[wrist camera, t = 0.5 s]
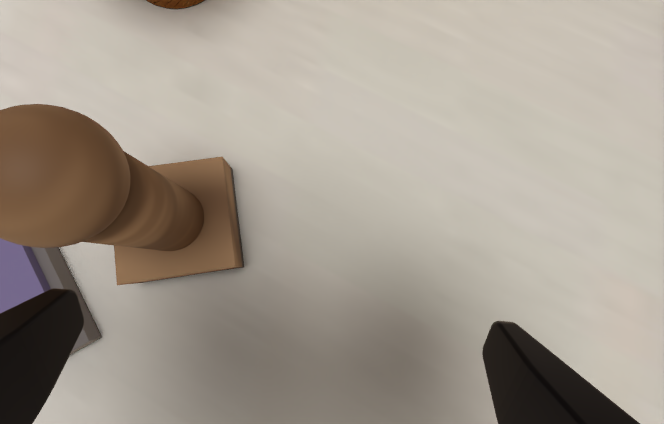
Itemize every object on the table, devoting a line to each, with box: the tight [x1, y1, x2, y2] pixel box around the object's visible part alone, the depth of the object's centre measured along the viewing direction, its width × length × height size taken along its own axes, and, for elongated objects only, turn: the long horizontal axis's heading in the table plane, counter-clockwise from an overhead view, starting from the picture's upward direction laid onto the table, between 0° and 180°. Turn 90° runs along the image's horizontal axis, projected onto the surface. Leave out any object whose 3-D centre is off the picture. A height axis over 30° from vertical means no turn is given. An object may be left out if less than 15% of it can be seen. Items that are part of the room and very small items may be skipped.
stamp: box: [0, 104, 244, 285], centre depth 16 cm, size 6×6×14 cm
